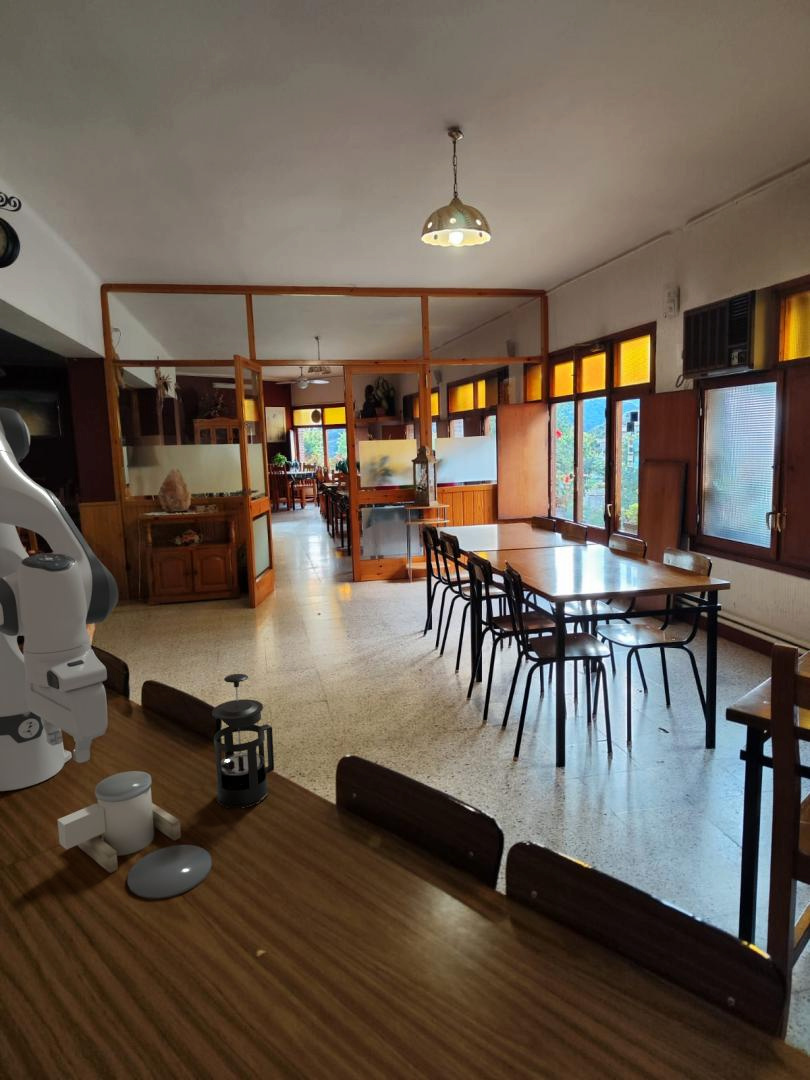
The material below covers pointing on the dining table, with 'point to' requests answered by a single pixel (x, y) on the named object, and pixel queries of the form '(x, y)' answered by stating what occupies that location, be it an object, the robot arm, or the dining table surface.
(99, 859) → the stand
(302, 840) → the dining table surface
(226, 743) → the french press
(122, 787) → the white handled cylinder
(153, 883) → the mat
